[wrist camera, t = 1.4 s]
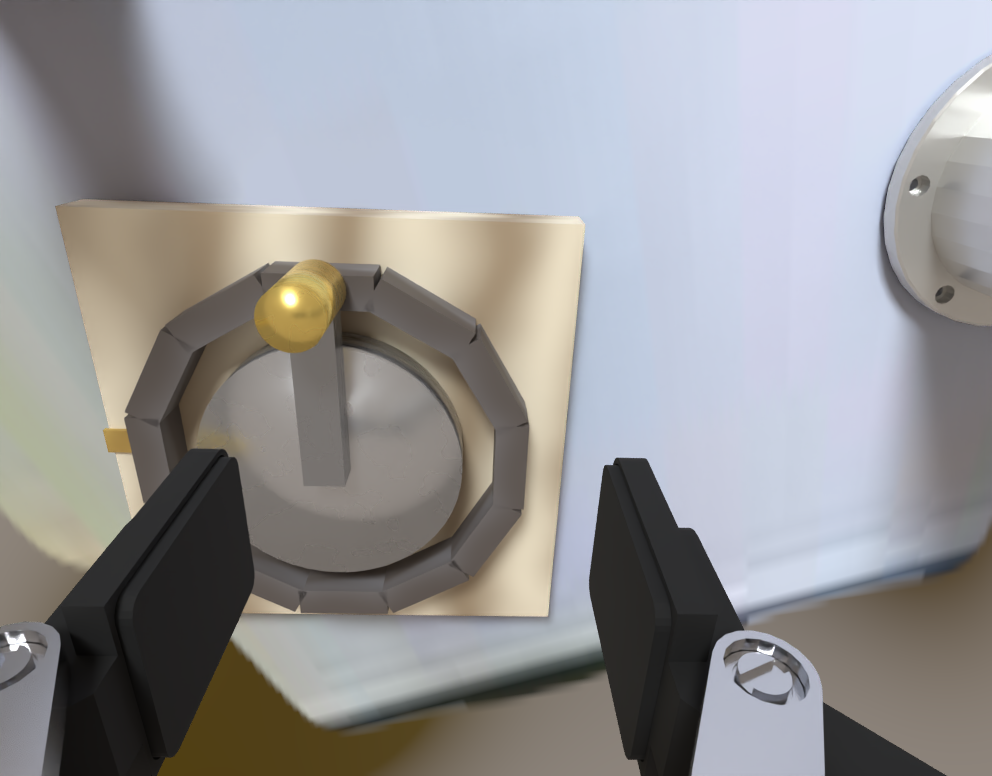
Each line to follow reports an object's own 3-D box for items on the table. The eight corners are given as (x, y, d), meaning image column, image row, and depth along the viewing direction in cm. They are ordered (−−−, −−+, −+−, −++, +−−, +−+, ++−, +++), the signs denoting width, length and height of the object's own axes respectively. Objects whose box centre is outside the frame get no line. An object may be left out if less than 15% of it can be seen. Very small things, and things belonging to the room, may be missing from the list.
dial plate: (578, 216, 29) (592, 233, 25) (544, 591, 38) (551, 644, 34) (77, 198, 28) (18, 214, 24) (166, 586, 37) (132, 639, 34)
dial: (461, 548, 34) (457, 635, 28) (231, 544, 33) (182, 632, 28) (466, 252, 27) (464, 292, 22) (180, 243, 27) (104, 281, 21)
